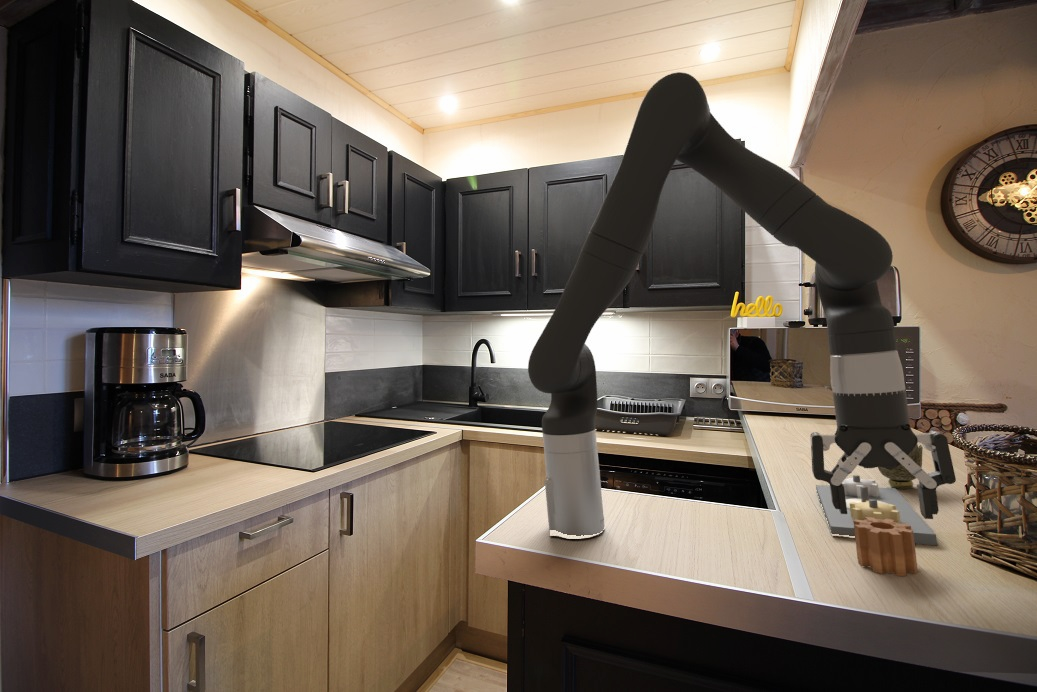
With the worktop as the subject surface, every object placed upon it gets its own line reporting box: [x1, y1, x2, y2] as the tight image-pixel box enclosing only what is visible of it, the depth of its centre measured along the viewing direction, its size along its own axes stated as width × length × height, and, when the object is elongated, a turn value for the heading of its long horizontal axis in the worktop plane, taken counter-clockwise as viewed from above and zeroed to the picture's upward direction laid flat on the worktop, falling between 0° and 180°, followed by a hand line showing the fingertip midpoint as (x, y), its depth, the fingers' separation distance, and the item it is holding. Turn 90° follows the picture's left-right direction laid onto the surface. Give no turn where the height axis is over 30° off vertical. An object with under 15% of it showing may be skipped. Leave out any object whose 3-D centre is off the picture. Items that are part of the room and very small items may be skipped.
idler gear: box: [853, 517, 919, 577], centre depth 59 cm, size 6×6×5 cm
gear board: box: [815, 474, 938, 546], centre depth 75 cm, size 22×12×4 cm, turn 152°
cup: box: [877, 443, 924, 490], centre depth 87 cm, size 8×7×8 cm
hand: (883, 514), depth 58 cm, fingers open, 8 cm apart
